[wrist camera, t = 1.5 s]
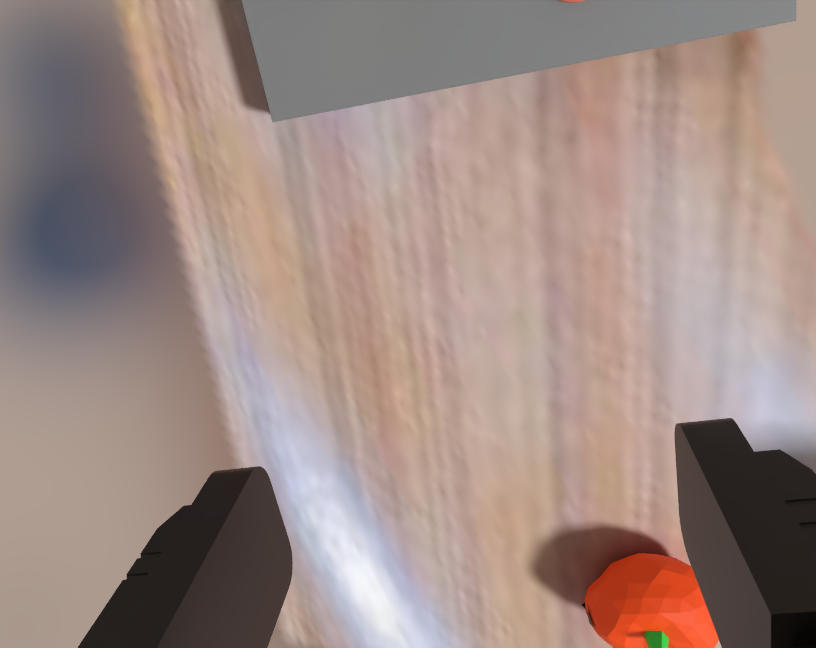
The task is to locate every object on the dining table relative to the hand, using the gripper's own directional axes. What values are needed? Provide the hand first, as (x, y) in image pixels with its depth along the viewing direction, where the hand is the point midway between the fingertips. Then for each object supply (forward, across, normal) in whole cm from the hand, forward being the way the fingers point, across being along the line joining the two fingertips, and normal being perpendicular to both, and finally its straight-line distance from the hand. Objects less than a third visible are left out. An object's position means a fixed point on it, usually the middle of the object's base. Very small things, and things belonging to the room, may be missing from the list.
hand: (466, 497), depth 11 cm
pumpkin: (+28, -6, +28) cm, 40 cm away
